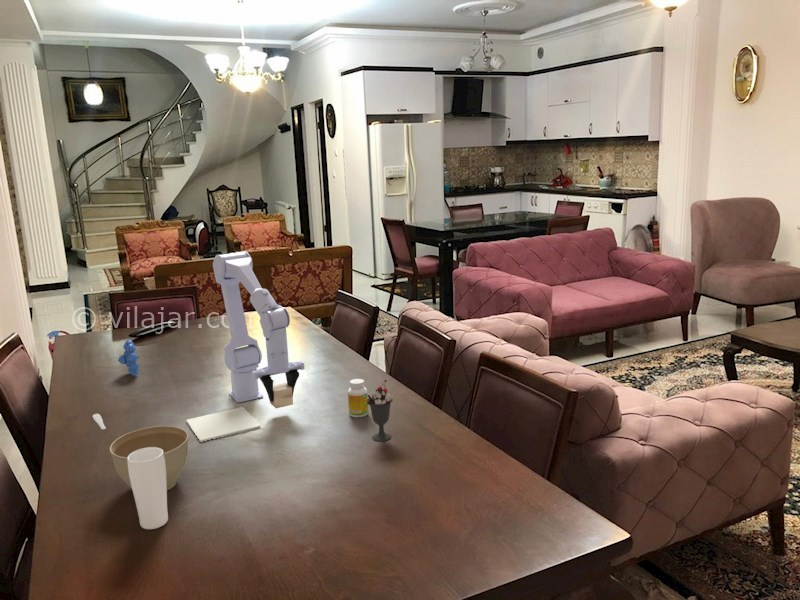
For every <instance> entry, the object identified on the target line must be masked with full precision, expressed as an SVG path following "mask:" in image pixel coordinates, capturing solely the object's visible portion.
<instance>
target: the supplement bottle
mask: <svg viewBox="0 0 800 600" xmlns="http://www.w3.org/2000/svg"><path fill="white" fill-rule="evenodd" d="M368 395H369V394H368V389H367V388H366V387H365V380H364V379H362V378H354V379H351V380H349V388H348V390H347V401H348V415H349V416H350V417H353V418H364V417H366V416H367V415H368V414H369V405H368V404H367V399H368V398H369V397H368Z"/></svg>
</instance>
